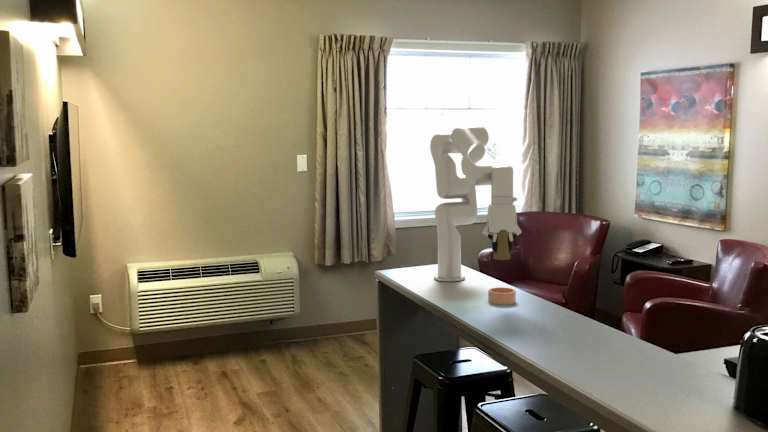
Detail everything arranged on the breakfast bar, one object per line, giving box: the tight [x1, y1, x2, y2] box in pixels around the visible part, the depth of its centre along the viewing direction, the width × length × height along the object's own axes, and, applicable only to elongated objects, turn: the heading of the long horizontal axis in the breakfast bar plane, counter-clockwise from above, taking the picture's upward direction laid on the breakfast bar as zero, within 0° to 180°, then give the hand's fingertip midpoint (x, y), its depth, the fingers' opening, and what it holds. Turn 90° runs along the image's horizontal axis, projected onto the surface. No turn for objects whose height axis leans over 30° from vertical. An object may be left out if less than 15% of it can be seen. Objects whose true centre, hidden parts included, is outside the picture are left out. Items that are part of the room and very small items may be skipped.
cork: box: [492, 230, 511, 261], centre depth 243 cm, size 6×6×11 cm
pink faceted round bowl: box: [487, 286, 517, 306], centre depth 245 cm, size 9×9×4 cm
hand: (501, 251), depth 244 cm, fingers closed on cork, 4 cm apart
